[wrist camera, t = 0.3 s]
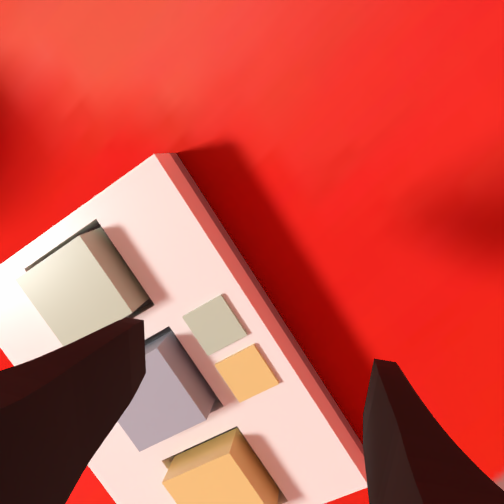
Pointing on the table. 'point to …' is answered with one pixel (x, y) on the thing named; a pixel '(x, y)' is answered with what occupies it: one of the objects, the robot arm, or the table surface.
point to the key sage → (82, 287)
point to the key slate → (166, 395)
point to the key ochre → (220, 474)
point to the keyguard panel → (197, 341)
